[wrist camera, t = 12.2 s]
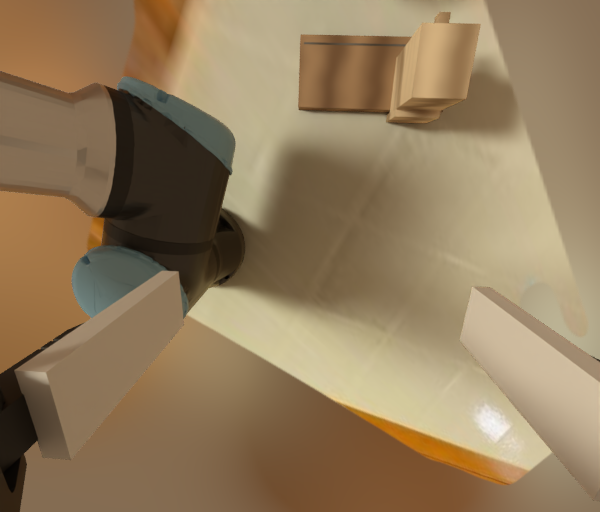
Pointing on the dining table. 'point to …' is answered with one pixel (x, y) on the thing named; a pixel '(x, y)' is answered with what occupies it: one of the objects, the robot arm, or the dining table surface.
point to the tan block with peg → (433, 70)
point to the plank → (348, 72)
